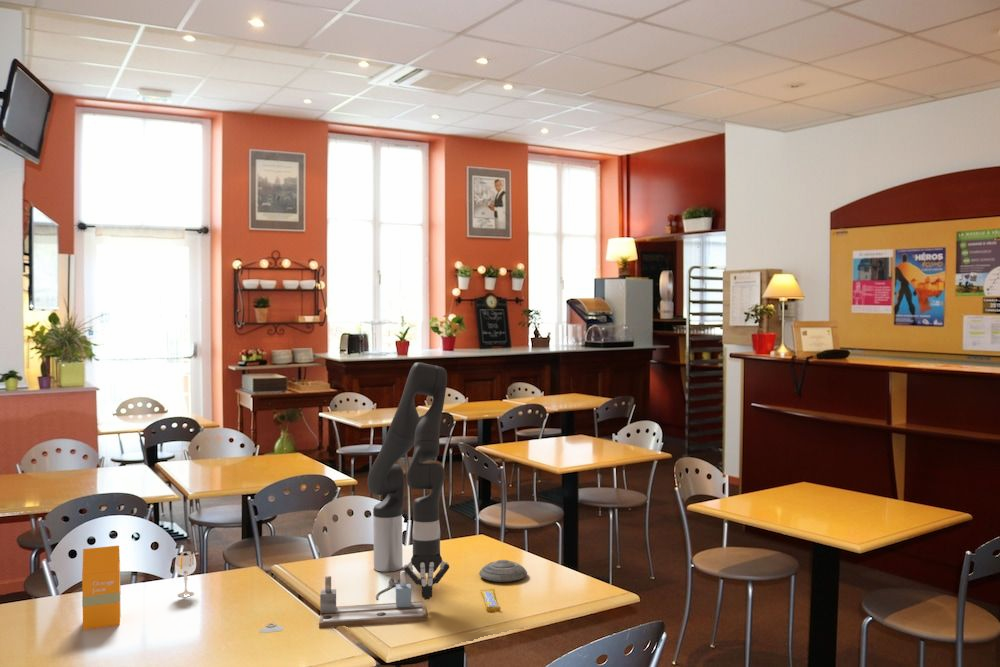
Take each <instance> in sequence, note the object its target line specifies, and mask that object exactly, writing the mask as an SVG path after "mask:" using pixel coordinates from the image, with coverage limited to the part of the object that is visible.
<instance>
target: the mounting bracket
mask: <svg viewBox="0 0 1000 667" xmlns="http://www.w3.org/2000/svg"><path fill="white" fill-rule="evenodd" d="M283 630H284V626H283V625H278V626H277V623H275V622H274V623H273V622H271V623H266V624H265V627H264V628H259V630H258V633H259V634H266V633H274V632H275V633H276V632H282V631H283Z"/></svg>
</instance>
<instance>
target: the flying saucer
mask: <svg viewBox="0 0 1000 667" xmlns="http://www.w3.org/2000/svg"><path fill="white" fill-rule="evenodd" d="M478 575H479V576H480V577H481V578H483V579H485V580H487V581H491V582H497V583H498V582H499V583H508V582H514V581H520V580H522V579H524V578H526V576H527V575H528V571H527V570H526V569H525V567H523V566H522V565H521V564H520V563H517V562H515V561H511V560H508V559H499V560H495V561H492V562H488V564H485V565H484V566H483V567H482V568H481V569H480V570H479V572H478Z"/></svg>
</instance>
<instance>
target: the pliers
mask: <svg viewBox="0 0 1000 667" xmlns="http://www.w3.org/2000/svg"><path fill="white" fill-rule="evenodd" d="M388 584H389V585H388V586H387V587H386V588H384V589H382V590H380V591H378V593H377V594H376V596H375V599H376V601H378V600H379V596H380V595H381V594H383V593H385V592H388V591H389V590H392V589H393V588H396V584H400V578H399V579H398V580H397V581H395V580H394V577H391V578H390V579H389V580H388Z"/></svg>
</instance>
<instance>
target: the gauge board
mask: <svg viewBox="0 0 1000 667" xmlns="http://www.w3.org/2000/svg"><path fill="white" fill-rule="evenodd" d="M319 596H320V599H319V600H320V601H319V603H320V607H319V608H320V610H319V611H320V615H319V621H318V627H319V628H332V627H349V626H364V625H378V624H379V625H380V624H395V623H397V624H398V623H413V622H414V623H415V622H425V621H428V614H427V609H426V603H425V600H422V601H411V607H396V602H391V603H390V602H389V603H376V604H375V603H374V604H358V605H357V604H356V605H355V604H354V605H339V606H337V589H336V588H332V576H331V575H327V576H325V577H324V589H320V593H319Z"/></svg>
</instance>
